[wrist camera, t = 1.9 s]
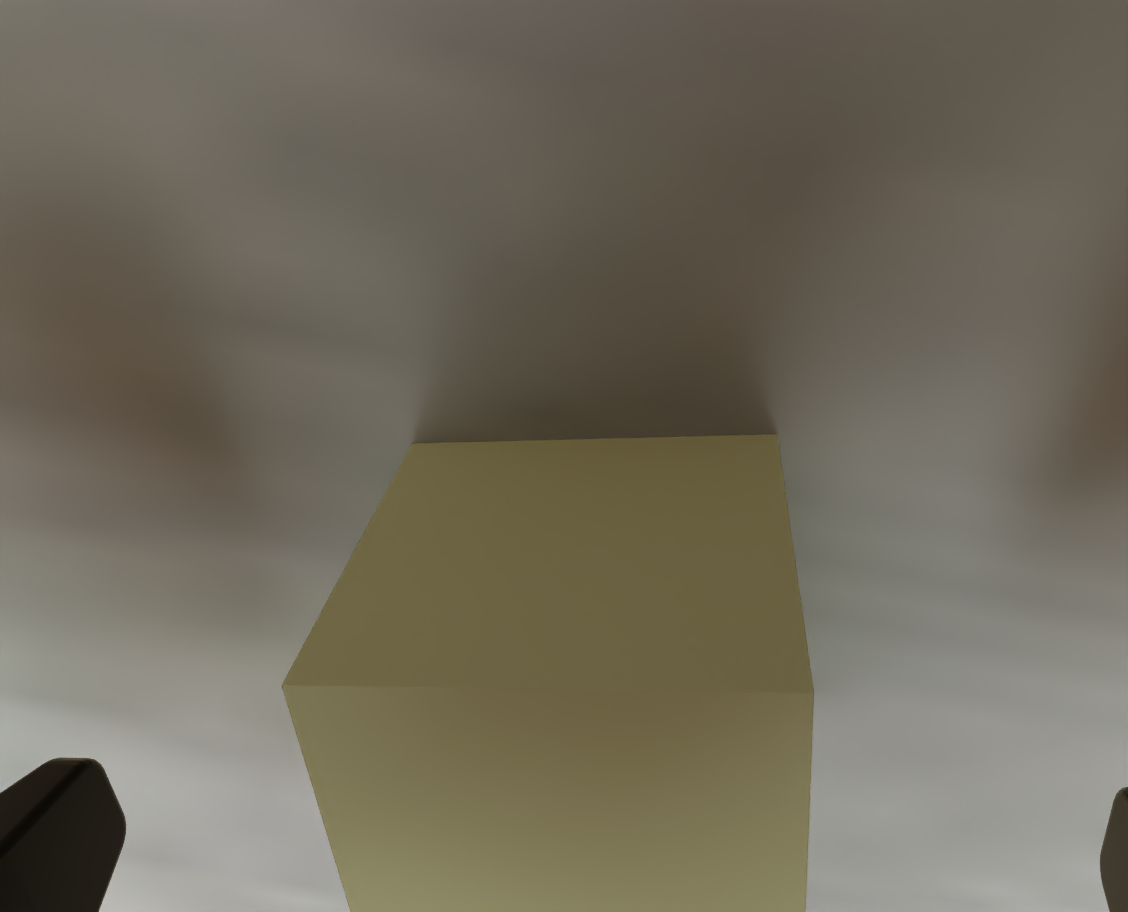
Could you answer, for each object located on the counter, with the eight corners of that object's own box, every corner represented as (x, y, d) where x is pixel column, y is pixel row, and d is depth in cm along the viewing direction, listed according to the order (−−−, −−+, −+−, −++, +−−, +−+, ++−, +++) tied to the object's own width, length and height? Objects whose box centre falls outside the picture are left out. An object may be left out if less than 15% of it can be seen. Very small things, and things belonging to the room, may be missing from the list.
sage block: (776, 430, 10) (813, 692, 7) (772, 711, 12) (801, 1026, 9) (413, 440, 11) (281, 685, 8) (464, 707, 13) (378, 999, 9)
